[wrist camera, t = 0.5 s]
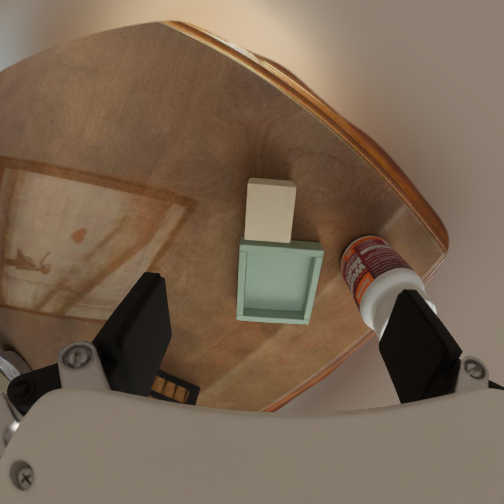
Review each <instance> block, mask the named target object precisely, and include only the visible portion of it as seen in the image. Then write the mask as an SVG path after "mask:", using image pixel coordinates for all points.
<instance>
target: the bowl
mask: <svg viewBox="0 0 504 504" xmlns="http://www.w3.org/2000/svg"><path fill="white" fill-rule="evenodd" d="M0 368H1V370H2V371H3V372H4V373H5V375H6V376H7V377H8V378H9V379H10V380H11V381H12V380H13V379H14V378H15V377H17V376H19V375H22V374H25V373H28V372H31V370H30V368H29V366H28V365H27V364H26V362H25V361H24V360H23V359H22V358H21V357H20V356H19V355H18V354H16V353H15V352H13V351H6V352H2V353H0Z"/></svg>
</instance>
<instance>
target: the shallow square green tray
mask: <svg viewBox="0 0 504 504" xmlns="http://www.w3.org/2000/svg"><path fill="white" fill-rule="evenodd" d="M244 237H245V236H242V237H241V241H240V247H239V250H240V251H239V268H238V291H237V315H236V320H242V321H255V322H269V323H287V324H309V319H310V316H311V311H312V307H313V303H314V298H315V293H316V289H317V284H318V279H319V274H320V269H321V264H322V259H323V254H324V250H323V248H322V246H321V244H320V242H308V241H296V240H290V243H282V242H269V241H256V240H245V239H244Z"/></svg>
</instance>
